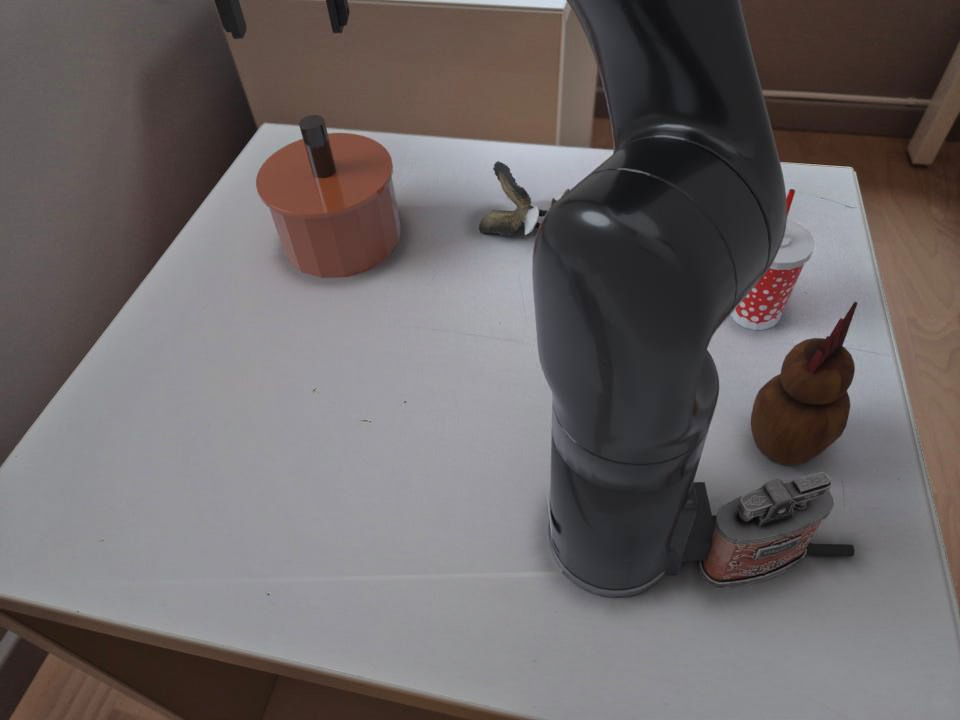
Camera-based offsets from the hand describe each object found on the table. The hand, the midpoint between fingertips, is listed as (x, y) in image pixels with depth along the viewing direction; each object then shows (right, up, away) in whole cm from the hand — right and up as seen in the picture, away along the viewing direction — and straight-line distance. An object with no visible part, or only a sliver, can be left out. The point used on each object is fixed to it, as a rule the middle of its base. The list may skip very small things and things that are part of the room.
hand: (290, 32), depth 64 cm
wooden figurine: (+41, -35, -3) cm, 54 cm away
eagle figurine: (+20, -14, +17) cm, 30 cm away
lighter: (+36, -43, -9) cm, 57 cm away
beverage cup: (+42, -24, +7) cm, 49 cm away
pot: (+1, -15, +17) cm, 23 cm away
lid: (+1, -10, +11) cm, 15 cm away
